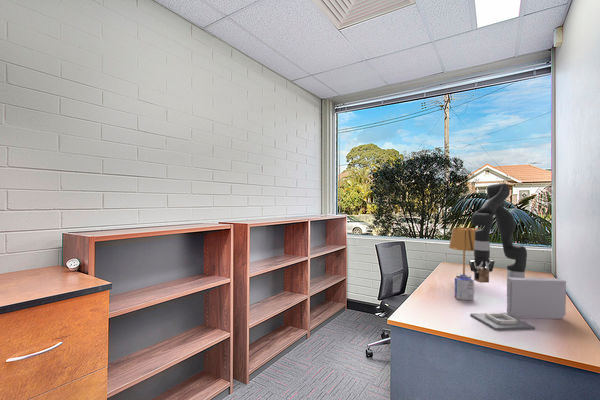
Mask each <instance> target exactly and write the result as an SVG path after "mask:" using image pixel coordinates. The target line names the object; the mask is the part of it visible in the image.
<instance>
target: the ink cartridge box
mask: <svg viewBox="0 0 600 400" xmlns="http://www.w3.org/2000/svg"><path fill="white" fill-rule="evenodd" d="M461 276H465V277H461ZM474 281H475V280H474V279H472V278H471V279H467V276H466V275H460V278H456V277H455V278H454V297H455V299H456V300H463V301H464V300H465V301H474V297H475V295H474V294H475V293H474V292H475V291H474V287H475V285H474V284H475V283H474Z"/></svg>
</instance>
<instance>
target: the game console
mask: <svg viewBox="0 0 600 400" xmlns="http://www.w3.org/2000/svg"><path fill="white" fill-rule="evenodd" d="M566 295H567V280H565V279H561V278H556V277H555V278H552V277H525V278H510V277H507V276H506V313H507V314H509V315H511V316H513V317H515V318H518V319H552V320H554V319H555V320H557V319H558V320H562V318H563V317H565V316H566V312H567V311H566V308H567V307H566V304H567V303H566V299H567V298H566V297H567V296H566Z"/></svg>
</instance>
